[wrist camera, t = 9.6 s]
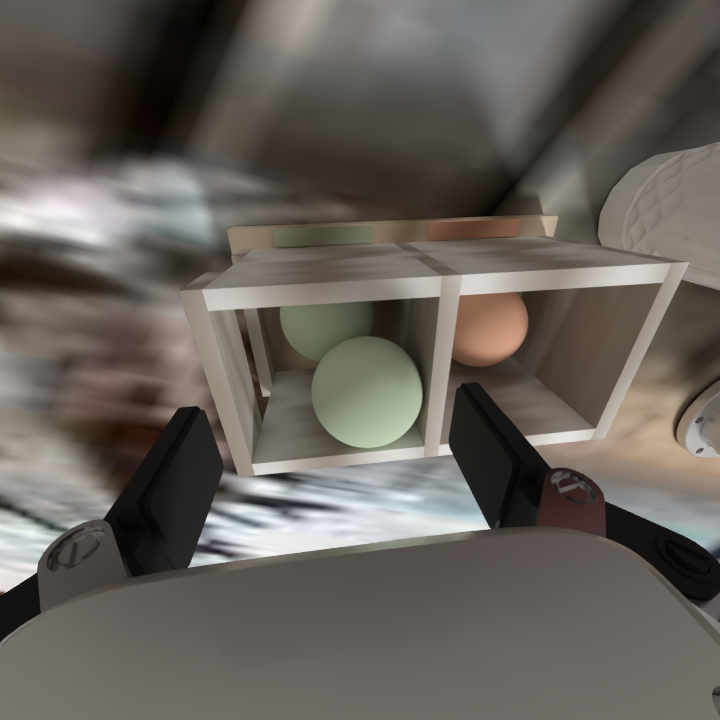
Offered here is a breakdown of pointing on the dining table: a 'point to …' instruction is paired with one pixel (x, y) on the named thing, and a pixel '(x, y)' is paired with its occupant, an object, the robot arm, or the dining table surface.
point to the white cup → (670, 211)
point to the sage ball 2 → (367, 392)
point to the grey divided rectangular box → (426, 328)
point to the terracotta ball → (489, 328)
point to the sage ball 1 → (325, 325)
